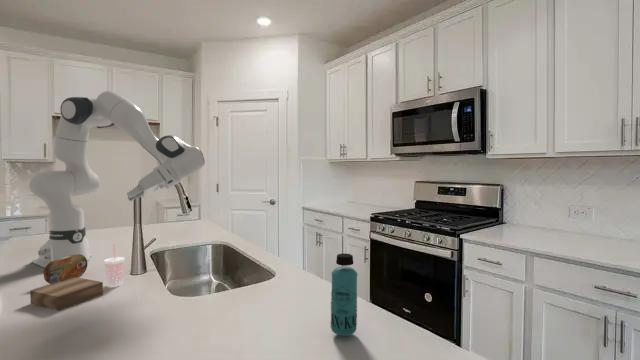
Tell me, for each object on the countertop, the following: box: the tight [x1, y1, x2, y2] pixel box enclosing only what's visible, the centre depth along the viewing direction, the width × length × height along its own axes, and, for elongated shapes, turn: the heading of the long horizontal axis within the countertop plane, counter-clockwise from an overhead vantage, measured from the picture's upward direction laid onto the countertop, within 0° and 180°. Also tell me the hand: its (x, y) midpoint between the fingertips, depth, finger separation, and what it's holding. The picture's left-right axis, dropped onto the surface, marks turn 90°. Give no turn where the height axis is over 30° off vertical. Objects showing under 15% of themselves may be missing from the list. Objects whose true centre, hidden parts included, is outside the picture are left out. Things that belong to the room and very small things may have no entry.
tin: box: [43, 254, 88, 285], centre depth 121 cm, size 15×3×8 cm, turn 168°
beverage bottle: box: [329, 253, 358, 336], centre depth 81 cm, size 6×7×20 cm
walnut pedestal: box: [29, 277, 104, 312], centre depth 104 cm, size 13×13×4 cm
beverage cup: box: [103, 244, 126, 288], centre depth 116 cm, size 6×6×14 cm
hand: (128, 197), depth 117 cm, fingers open, 8 cm apart
